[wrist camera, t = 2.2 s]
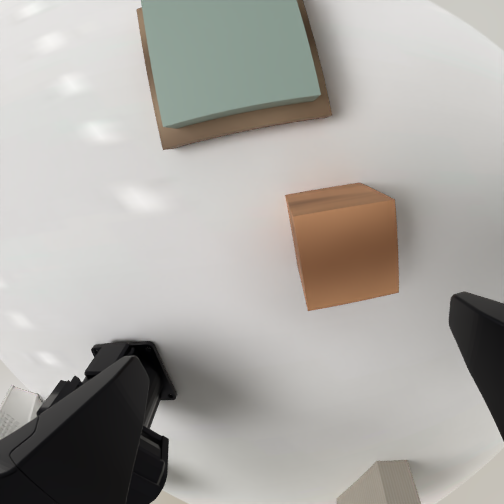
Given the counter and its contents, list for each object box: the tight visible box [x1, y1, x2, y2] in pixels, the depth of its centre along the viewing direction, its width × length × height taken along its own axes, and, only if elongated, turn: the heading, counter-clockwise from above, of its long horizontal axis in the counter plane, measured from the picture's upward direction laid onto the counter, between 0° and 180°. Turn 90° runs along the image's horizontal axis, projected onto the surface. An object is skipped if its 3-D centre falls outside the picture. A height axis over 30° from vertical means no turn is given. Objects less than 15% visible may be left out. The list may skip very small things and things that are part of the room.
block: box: [285, 183, 399, 311], centre depth 18 cm, size 5×5×6 cm
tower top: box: [141, 0, 321, 129], centre depth 14 cm, size 8×8×2 cm
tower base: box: [137, 0, 332, 150], centre depth 16 cm, size 10×10×2 cm
